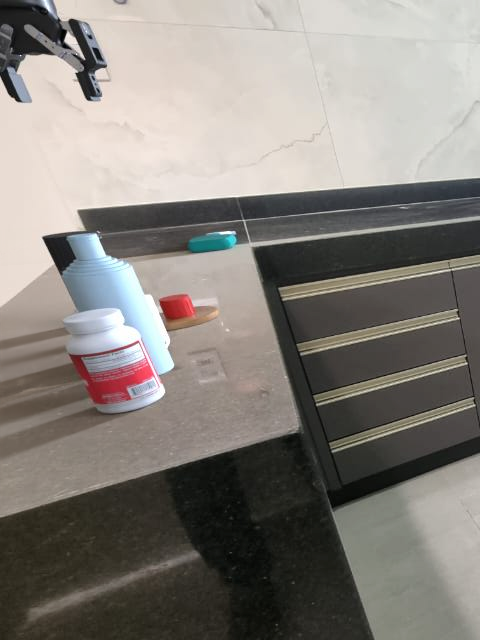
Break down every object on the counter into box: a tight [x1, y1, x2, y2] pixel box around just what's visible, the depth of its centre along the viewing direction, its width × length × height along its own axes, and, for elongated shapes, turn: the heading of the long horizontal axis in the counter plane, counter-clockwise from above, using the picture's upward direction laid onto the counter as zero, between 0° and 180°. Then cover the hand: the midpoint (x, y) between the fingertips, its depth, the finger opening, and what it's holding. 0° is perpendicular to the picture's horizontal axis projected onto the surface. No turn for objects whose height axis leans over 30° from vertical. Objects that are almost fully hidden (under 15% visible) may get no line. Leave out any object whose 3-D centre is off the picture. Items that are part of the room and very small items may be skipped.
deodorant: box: [41, 230, 94, 309], centre depth 88 cm, size 6×6×15 cm
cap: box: [158, 293, 195, 319], centre depth 90 cm, size 4×4×3 cm
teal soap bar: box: [187, 230, 237, 254], centre depth 155 cm, size 3×11×24 cm
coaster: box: [158, 305, 220, 331], centre depth 90 cm, size 10×10×1 cm
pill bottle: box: [62, 308, 166, 414], centre depth 60 cm, size 6×6×11 cm
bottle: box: [61, 232, 175, 377], centre depth 67 cm, size 6×6×18 cm
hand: (59, 101), depth 78 cm, fingers open, 8 cm apart
